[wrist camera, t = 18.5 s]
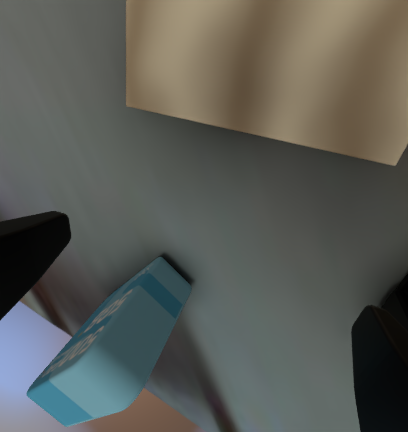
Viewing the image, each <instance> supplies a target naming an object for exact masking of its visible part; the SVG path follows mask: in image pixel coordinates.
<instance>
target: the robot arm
mask: <svg viewBox="0 0 408 432" xmlns="http://www.w3.org/2000/svg"><path fill="white" fill-rule="evenodd" d="M70 239H71V230H70V224H69V218H68V216H67V215H66V214H64V213H61V212H57V211H50V212H45V213H41V214H36V215H31V216H26V217H21V218H16V219H11V220H6V221H1V222H0V320H1V319H2V318H3V317H4V316H5V315H6V314H7V313H8V312H9V311H10V310H11V309H12V308H13V307H14V306H15V305H16V303H17V302H18V301H19V300H20V299H21V298H22V297H23V296H24V295H25V294H26V293H27V292H28V291H29V290H30V289H31V288H32V287H33V286H34V285H35V284H36V283H37V281H38V280H39V279H40V278H41V277H42V276H43V274H44V273H45V272H46V271H47V269H48V268H49V267H50V266H51V264H52V263H53V262H54V261H55V259H56V258H57V257H58V256H59V254H60V253H61V252H62V251H63V249H64V248H65V247H66V246H67V244H68V243H69V241H70ZM351 335H352V356H353V376H354V391H355V399H356V406H357V412H358V418H359V425H360V431H361V432H408V275H407V276H406V277H405V279H404V280H403V281H402V283H401V284H400V285H399V287H398V288H397V289H396V290H395V291H393V293H392V294H391V295H390V297H389V298H388V299H387V301H386V302H385V304H384V305H383V306H382V308H379V307H375V306H372V305H368V306H366V307H365V308H364V309H363V311H362V312H361V314H360V315H359V317H358V318H357V320H356V321H355V322H354V324H353V326H352V331H351Z"/></svg>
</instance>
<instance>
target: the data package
mask: <svg viewBox="0 0 408 432" xmlns="http://www.w3.org/2000/svg"><path fill="white" fill-rule="evenodd" d="M191 289H192V288H191V285H190V284H189V283H188V282H187V281H186V280H185V279H184V278H183V277H182V276H181V275H180V274H179V273H178V272H177V271H176V270H175V269H174V268H173V267H172V266H170V265H169V264H168V263H167V262H166V261H165V260H164V259H163V258H162V257H158V258H156V259H155V260H154V261H152V262H151V263H150V264H149V265H147V266H146V267H145V268H144V269H142V270H141V271H140V272H138V273H137V274H136V275H135V276H133V277H132V278H131V279H130V280H128V281H127V282H126V283H125V284H123V285H122V286H121V287H119V288H118V289H117V290H116V291H114V292H113V293H112V294H111V295H110V296H109V297H108V298H107V299H106V300H105V301H104V302H103V303H102V304H101V305H100V306H99V307H98V309H97V310H96V311H95V312H94V313H93V314H92V315H91V317H90V318H89V319H88V320H87V321H86V322H85V324H84V325H83V326H82V327H81V328H80V329H79V330H78V332H77V333H76V334H75V335H74V336H73V337H72V339H71V340H70V341H69V342H68V343H67V344H66V345H65V347H64V348H63V349H62V350H61V351H60V353H59V354H58V355H57V356H56V357H55V358H54V359H53V360H52V362H51V363H50V364H49V365H48V366H47V367H46V368H45V370H44V371H43V372H42V373H41V374H40V375H39V377H38V378H37V379H36V380H35V381H34V382H33V384H32V385H31V386H30V388H29V389H28V391H27V396H28V397H29V398H30V399H31V400H33V401H34V402H35V403H36V404H38V405H39V406H40V407H41V408H43V409H44V410H45V411H46V412H48V413H49V414H50V415H51V416H53V417H54V418H55V419H56V420H58V421H59V422H60V423H61V424H63V425H64V426H66V427H68V426H72V425H75V424H79V423H82V422H86V421H89V420H92V419H96V418H99V417H103V416H106V415H109V414H113V413H117V412H120V411H123V410H124V409H126V408H127V407H128V406H129V405H130V404H132V402H133V401H134V400H135V399H136V398H137V396H138V395H139V394H140V392H141V391H142V389H143V388H144V386H145V384H146V382H147V380H148V378H149V376H150V374H151V372H152V370H153V368H154V366H155V364H156V362H157V360H158V358H159V356H160V354H161V352H162V350H163V348H164V346H165V344H166V341H167V339H168V337H169V335H170V333H171V331H172V329H173V327H174V325H175V323H176V321H177V319H178V317H179V315H180V313H181V311H182V309H183V307H184V305H185V303H186V301H187V299H188V297H189V295H190V293H191Z"/></svg>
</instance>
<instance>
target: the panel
mask: <svg viewBox="0 0 408 432" xmlns="http://www.w3.org/2000/svg"><path fill="white" fill-rule="evenodd" d="M126 106H128V107H133V108H137V109H142V110H146V111H151V112H155V113H160V114H164V115H169V116H173V117H178V118H182V119H187V120H191V121H196V122H200V123H205V124H209V125H214V126H218V127H223V128H227V129H231V130H236V131H240V132H245V133H249V134H254V135H258V136H263V137H267V138H272V139H276V140H281V141H285V142H290V143H294V144H299V145H303V146H308V147H312V148H317V149H321V150H326V151H330V152H335V153H339V154H344V155H348V156H353V157H357V158H362V159H366V160H370V161H375V162H379V163H384V164H388V165H393V166H396V164H397V162H398V160H399V159H400V157H401V155H402V153H403V151H404V150H405V148H406V146H407V144H408V0H126Z"/></svg>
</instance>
